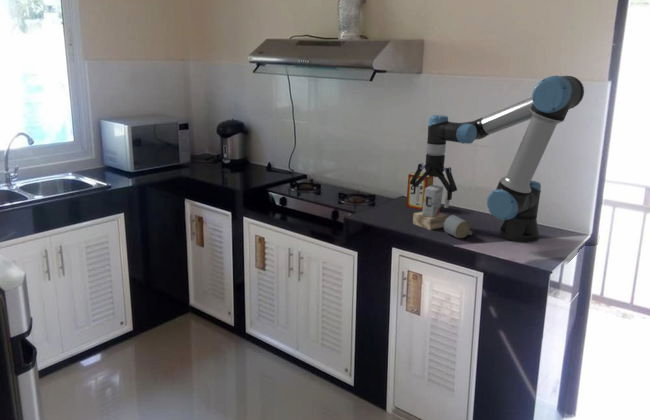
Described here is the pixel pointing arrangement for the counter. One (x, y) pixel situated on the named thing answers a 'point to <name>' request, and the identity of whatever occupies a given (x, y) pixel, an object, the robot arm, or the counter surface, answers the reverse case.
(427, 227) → the maple block
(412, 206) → the baking soda box
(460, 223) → the ceramic mug
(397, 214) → the counter surface
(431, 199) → the ink box
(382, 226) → the counter surface
